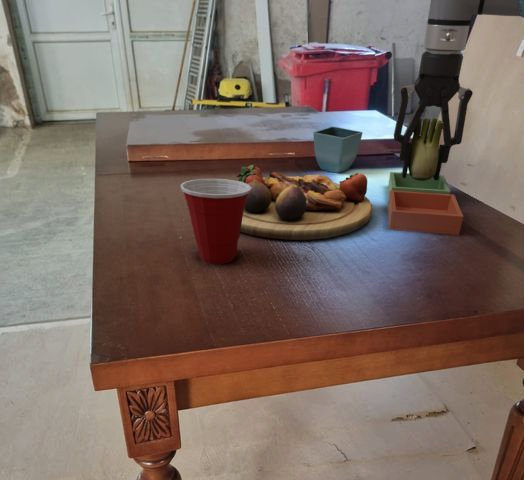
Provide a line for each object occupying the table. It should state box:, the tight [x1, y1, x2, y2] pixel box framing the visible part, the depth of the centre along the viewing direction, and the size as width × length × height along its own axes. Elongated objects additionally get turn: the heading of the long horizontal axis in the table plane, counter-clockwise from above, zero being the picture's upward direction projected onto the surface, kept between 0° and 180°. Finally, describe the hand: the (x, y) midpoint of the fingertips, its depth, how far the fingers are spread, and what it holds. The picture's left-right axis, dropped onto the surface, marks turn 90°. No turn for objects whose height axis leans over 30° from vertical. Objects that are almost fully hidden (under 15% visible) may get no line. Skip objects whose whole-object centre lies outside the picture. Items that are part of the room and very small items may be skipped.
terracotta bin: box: [386, 190, 464, 236], centre depth 101 cm, size 13×13×4 cm
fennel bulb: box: [408, 117, 444, 181], centre depth 107 cm, size 6×5×12 cm
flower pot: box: [312, 126, 363, 174], centre depth 127 cm, size 9×9×9 cm
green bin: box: [387, 171, 451, 195], centre depth 112 cm, size 12×12×4 cm
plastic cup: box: [179, 178, 252, 265], centre depth 83 cm, size 11×11×12 cm
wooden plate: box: [236, 163, 374, 241], centre depth 102 cm, size 32×32×8 cm
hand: (419, 177), depth 111 cm, fingers closed on fennel bulb, 6 cm apart
